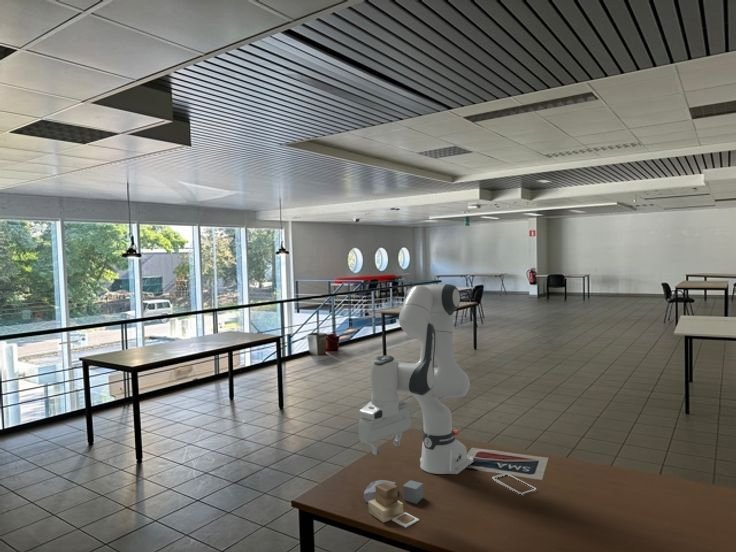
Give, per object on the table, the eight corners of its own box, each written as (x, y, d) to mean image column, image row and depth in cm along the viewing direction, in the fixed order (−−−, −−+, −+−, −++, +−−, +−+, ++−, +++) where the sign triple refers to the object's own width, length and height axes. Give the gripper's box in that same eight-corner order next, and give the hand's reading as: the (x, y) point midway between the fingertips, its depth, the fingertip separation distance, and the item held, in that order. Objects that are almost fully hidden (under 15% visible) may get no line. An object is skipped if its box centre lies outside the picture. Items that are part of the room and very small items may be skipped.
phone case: (491, 480, 179) (521, 497, 166) (491, 476, 179) (521, 493, 166) (506, 476, 183) (537, 492, 169) (506, 472, 183) (537, 488, 169)
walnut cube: (387, 496, 161) (387, 481, 161) (397, 501, 157) (397, 486, 157) (375, 501, 158) (375, 485, 158) (385, 506, 154) (385, 491, 154)
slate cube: (410, 494, 170) (410, 480, 170) (423, 497, 167) (422, 483, 167) (403, 500, 166) (402, 485, 165) (416, 503, 163) (416, 489, 163)
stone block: (362, 508, 165) (391, 505, 162) (359, 493, 165) (388, 490, 162) (372, 493, 176) (398, 490, 173) (369, 480, 176) (395, 477, 174)
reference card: (405, 513, 157) (405, 511, 157) (419, 520, 152) (419, 518, 152) (392, 520, 153) (391, 518, 153) (405, 527, 148) (405, 525, 148)
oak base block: (388, 505, 163) (387, 494, 162) (403, 515, 156) (403, 503, 156) (368, 513, 158) (368, 501, 158) (383, 523, 151) (383, 511, 151)
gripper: (400, 398, 167) (402, 438, 167) (354, 412, 153) (356, 455, 154) (414, 402, 162) (415, 443, 162) (368, 416, 149) (369, 461, 149)
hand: (386, 449), depth 158 cm, fingers open, 8 cm apart
